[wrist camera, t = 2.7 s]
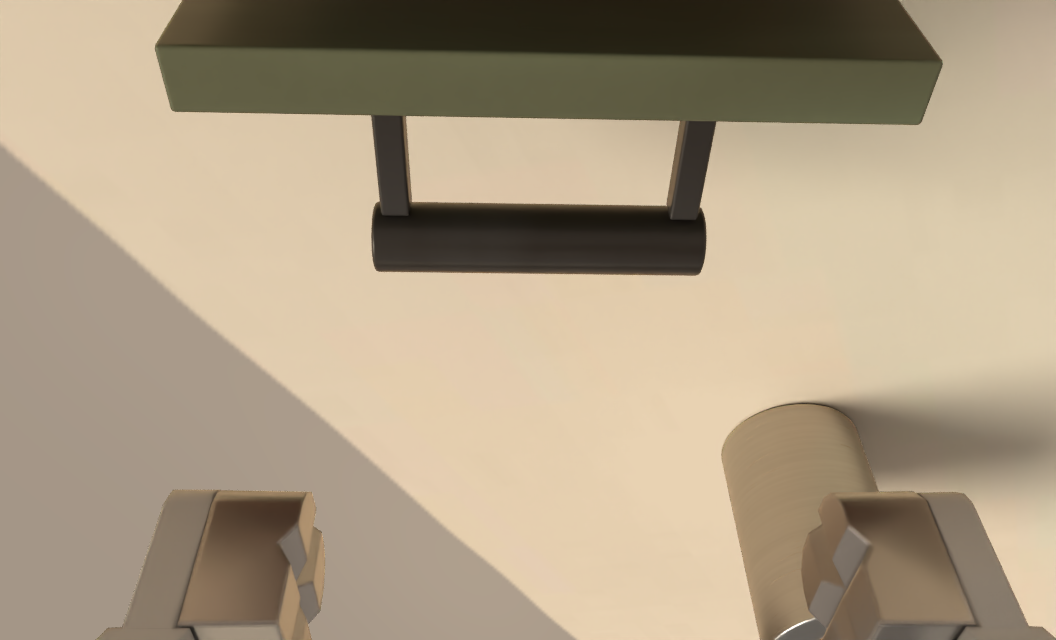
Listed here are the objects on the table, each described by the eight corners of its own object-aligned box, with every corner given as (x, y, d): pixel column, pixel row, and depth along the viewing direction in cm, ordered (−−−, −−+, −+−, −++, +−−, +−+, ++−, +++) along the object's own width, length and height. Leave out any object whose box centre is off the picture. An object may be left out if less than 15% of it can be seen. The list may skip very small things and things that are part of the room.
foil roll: (874, 403, 32) (955, 612, 26) (837, 487, 36) (901, 689, 30) (734, 402, 32) (784, 612, 26) (710, 487, 36) (750, 689, 30)
